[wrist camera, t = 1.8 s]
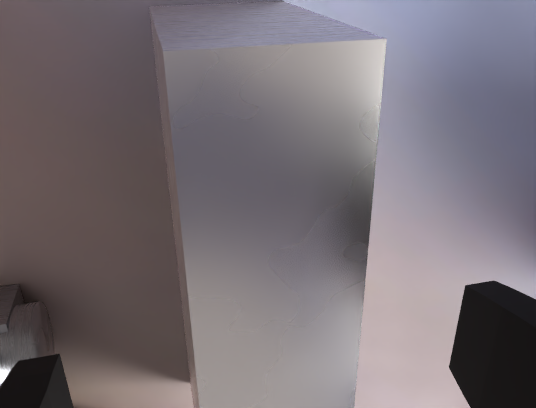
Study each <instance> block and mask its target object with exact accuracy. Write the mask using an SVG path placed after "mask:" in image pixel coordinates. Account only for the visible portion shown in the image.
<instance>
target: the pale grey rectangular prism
mask: <svg viewBox="0 0 536 408" xmlns="http://www.w3.org/2000/svg"><path fill="white" fill-rule="evenodd" d="M149 12H150V21H151V30H152V39H153V48H154V57H155V66H156V76H157V85H158V94H159V103H160V112H161V121H162V130H163V139H164V148H165V157H166V166H167V175H168V184H169V194H170V203H171V212H172V221H173V230H174V239H175V248H176V257H177V266H178V275H179V284H180V293H181V302H182V311H183V321H184V330H185V339H186V348H187V357H188V366H189V375H190V384H191V391H192V398H193V405H194V408H354V402H355V391H356V379H357V368H358V357H359V345H360V334H361V323H362V312H363V300H364V289H365V278H366V266H367V255H368V244H369V233H370V221H371V210H372V199H373V187H374V176H375V165H376V154H377V142H378V131H379V120H380V108H381V97H382V86H383V75H384V63H385V52H386V41H387V39H386V38H383V37H380V36H378V35H375V34H372V33H369V32H367V31H364V30H361V29H358V28H356V27H353V26H350V25H348V24H345V23H342V22H339V21H337V20H334V19H331V18H328V17H326V16H323V15H320V14H317V13H315V12H312V11H309V10H306V9H304V8H301V7H298V6H295V5H293V4H290V3H287V2H284V1H277V2H251V3H224V4H198V5H172V6H149Z"/></svg>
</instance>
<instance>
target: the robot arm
mask: <svg viewBox="0 0 536 408" xmlns="http://www.w3.org/2000/svg"><path fill="white" fill-rule="evenodd" d="M449 368H450V370H451V372H452V374H453V376H454V378H455V380H456V382H457V384H458V386H459V387H460V389H461V391H462V393H463V395H464V397H465V399H466V400H467V402H468V404H469V406H470V407H471V408H536V299H534V298H532V297H529V296H527V295H525V294H523V293H521V292H519V291H517V290H515V289H512V288H510V287H508V286H506V285H503V284H501V283H499V282H496V281H489V282H483V283H477V284H471V285H465V290H464V295H463V300H462V305H461V310H460V315H459V320H458V325H457V330H456V335H455V340H454V345H453V350H452V355H451V360H450V365H449ZM0 408H73V404H72V400H71V396H70V392H69V388H68V385H67V381H66V377H65V373H64V369H63V365H62V361H61V358H60V354H55V355H49V356H43V357H37V358H31V359H25V360H19V361H18V362H17V363H16V364H15V365H14V366H13V367H12V369H11V370H10V372H9V374H8V375H7V377H6V378H5V380H4V381H3V383H2V384H1V386H0Z"/></svg>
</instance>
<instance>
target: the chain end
mask: <svg viewBox="0 0 536 408" xmlns="http://www.w3.org/2000/svg"><path fill="white" fill-rule="evenodd" d="M49 355H54V345H53V335H52V328H51V323H50V318H49V315H48V312H47V309H46V307H45V305H44V304H43V303H42V302H33V303H26V304H25V303H24V300H23V296H22V293H21V289H20V285H19V284H16V285H9V286H2V287H0V386H1V384H2V383H3V381H4V380H5V378H6V377H7V375H8V374H9V372H10V370H11V369H12V367H13V366H14V365H15V364H16V363H17V362H18V361H19V360H25V359H31V358H37V357H43V356H49Z"/></svg>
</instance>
